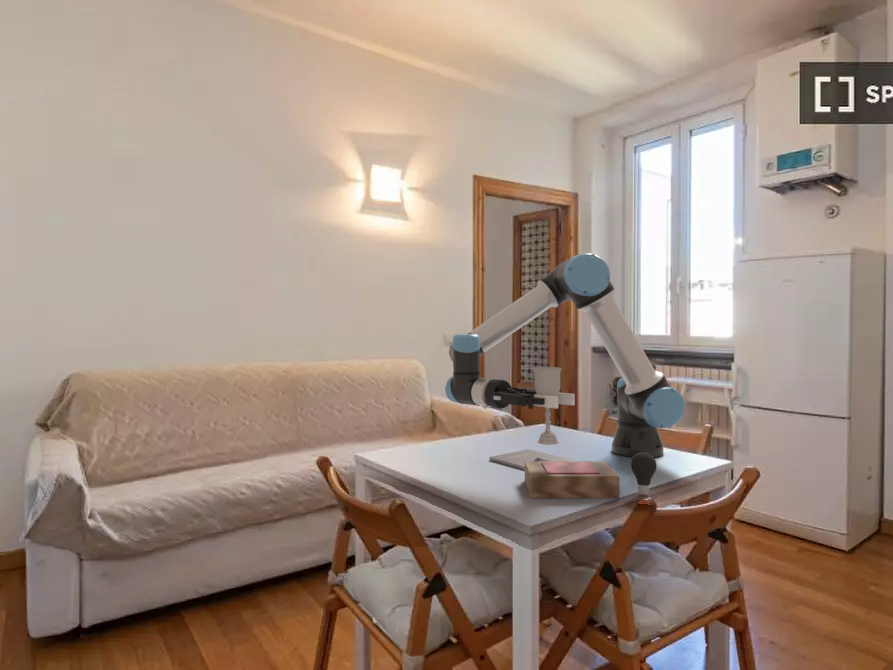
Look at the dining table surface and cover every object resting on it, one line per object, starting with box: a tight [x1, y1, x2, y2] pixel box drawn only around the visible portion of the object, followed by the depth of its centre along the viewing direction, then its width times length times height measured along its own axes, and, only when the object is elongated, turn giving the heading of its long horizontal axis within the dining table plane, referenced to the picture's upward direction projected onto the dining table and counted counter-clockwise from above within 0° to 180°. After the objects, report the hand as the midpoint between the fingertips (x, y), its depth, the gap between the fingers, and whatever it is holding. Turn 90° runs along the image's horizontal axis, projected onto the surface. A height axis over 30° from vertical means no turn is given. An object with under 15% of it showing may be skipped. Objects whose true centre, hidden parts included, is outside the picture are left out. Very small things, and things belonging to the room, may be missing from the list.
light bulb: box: [630, 452, 658, 497], centre depth 129 cm, size 6×6×10 cm
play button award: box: [489, 449, 576, 471], centre depth 161 cm, size 16×2×20 cm
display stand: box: [524, 460, 621, 499], centre depth 134 cm, size 20×14×5 cm
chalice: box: [531, 366, 563, 446], centre depth 135 cm, size 7×7×18 cm
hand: (565, 401), depth 131 cm, fingers closed on chalice, 6 cm apart
